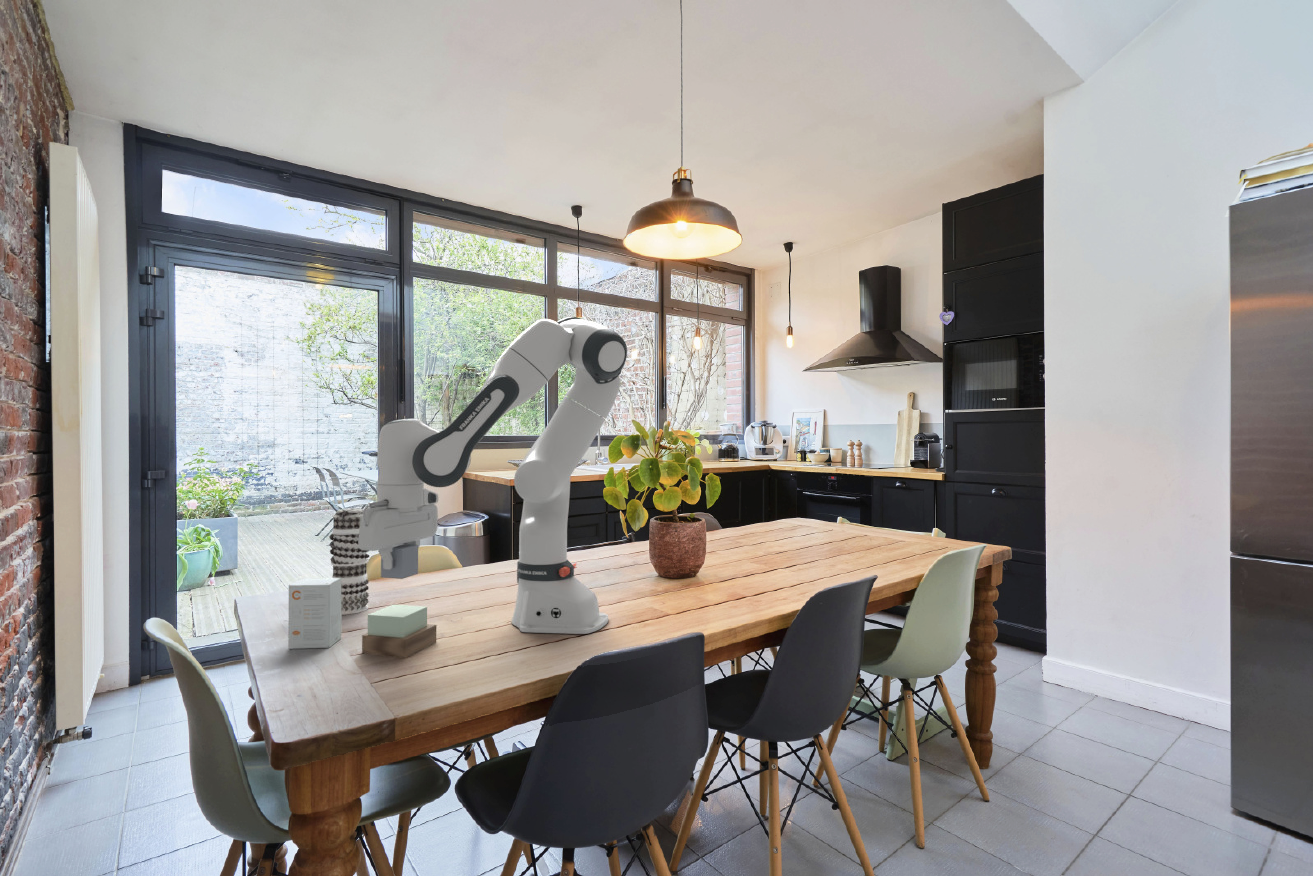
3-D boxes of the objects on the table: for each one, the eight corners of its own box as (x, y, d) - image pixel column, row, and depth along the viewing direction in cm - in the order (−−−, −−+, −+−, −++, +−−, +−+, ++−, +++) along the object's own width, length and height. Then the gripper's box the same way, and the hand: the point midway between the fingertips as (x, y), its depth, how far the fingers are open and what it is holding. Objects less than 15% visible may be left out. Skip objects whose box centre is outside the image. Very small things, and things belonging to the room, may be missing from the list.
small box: (342, 638, 132) (342, 577, 132) (329, 648, 125) (329, 584, 125) (302, 639, 131) (302, 578, 131) (287, 649, 125) (287, 585, 125)
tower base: (436, 643, 130) (436, 624, 130) (405, 660, 120) (405, 639, 120) (395, 639, 132) (395, 621, 132) (362, 655, 123) (362, 635, 123)
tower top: (427, 625, 129) (427, 606, 129) (403, 637, 121) (403, 617, 121) (393, 623, 131) (393, 604, 131) (367, 634, 123) (367, 614, 123)
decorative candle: (331, 617, 147) (332, 512, 147) (325, 608, 154) (326, 508, 155) (373, 611, 152) (374, 509, 152) (365, 603, 160) (366, 506, 160)
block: (417, 573, 128) (418, 544, 128) (402, 579, 123) (402, 549, 123) (397, 572, 129) (397, 543, 129) (380, 577, 125) (381, 547, 125)
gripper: (378, 503, 116) (377, 577, 115) (443, 494, 135) (442, 557, 135) (350, 502, 117) (349, 575, 117) (418, 493, 137) (417, 555, 137)
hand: (399, 565), depth 126 cm, fingers closed on block, 5 cm apart
